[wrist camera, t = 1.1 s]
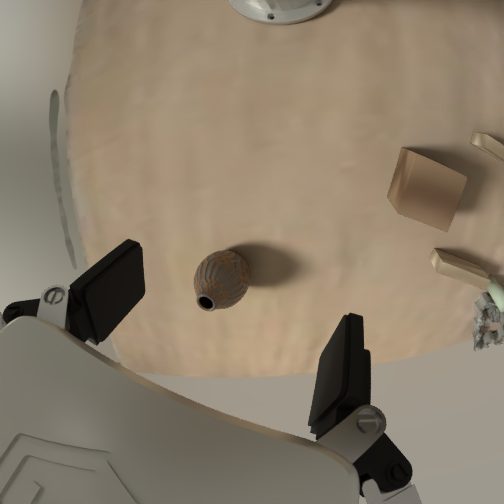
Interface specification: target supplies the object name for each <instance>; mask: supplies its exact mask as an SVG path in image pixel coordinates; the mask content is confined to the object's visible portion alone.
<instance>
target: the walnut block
mask: <svg viewBox="0 0 504 504" xmlns="http://www.w3.org/2000/svg"><path fill="white" fill-rule="evenodd" d="M466 181H467V177H466V176H464V175H462V174H460V173H458V172H456V171H454V170H453V169H451V168H449V167H447V166H444V165H442V164H440V163H438V162H436V161H434V160H431V159H429V158H427V157H424V156H422V155H420V154H417V153H415V152H412V151H410V150H407V149H405V148H402V147H401V151H400V155H399V159H398V162H397V166H396V169H395V173H394V176H393V179H392V182H391V186H390V189H389V192H388V195H387V197H388V199H389V200H390V202H391V203H392V205H393V207H394V208H395V210H396V211H397V213H398V214H400V215H403V216H406V217H409V218H411V219H414V220H417V221H419V222H422V223H425V224H427V225H430V226H432V227H435V228H437V229H440V230H442V231H445V232H448V230H449V227H450V225H451V222H452V220H453V217H454V215H455V212H456V210H457V207H458V204H459V201H460V199H461V196H462V193H463V190H464V187H465V184H466Z"/></svg>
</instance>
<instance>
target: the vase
mask: <svg viewBox="0 0 504 504" xmlns="http://www.w3.org/2000/svg"><path fill="white" fill-rule="evenodd" d="M249 283H250V271H249V267H248V265H247V263H246V262H245V260H244V259H243V258H242V257H241V256H240V255H238V254H236V253H234V252H231V251H226V250H224V251H217V252H215V253H212V254H210V255H209V256H207V257H206V258H205V259H204V260H203V261H202V262H201V263H200V265H199V266H198V268H197V270H196V273H195V277H194V288H195V292H196V295H197V304H198V305H199V307H200V308H202V309H203V310H205V311H213V310H215V309H225V308H229V307H231V306H233V305H235V304H236V303H237V302H239V301H240V300H241V299H242V297H243V296H244V295H245V293H246V291H247V289H248V286H249Z"/></svg>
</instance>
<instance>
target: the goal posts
mask: <svg viewBox="0 0 504 504" xmlns="http://www.w3.org/2000/svg"><path fill="white" fill-rule="evenodd" d="M488 277H489V278H490V280H491V281H490V283H489V285H488V287H487V288H486V289H487V290H488V292H489V293H490V295H491V297H492V298H493V300H494V302H495V303H496V305H497V307H498V308H499V310H500V312H504V291H503V289H502V288H501V286H500V285H499V283H498V282H497V281H496V279H495V278H494V276H493V275H489V276H488Z"/></svg>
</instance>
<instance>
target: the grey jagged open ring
mask: <svg viewBox="0 0 504 504" xmlns="http://www.w3.org/2000/svg"><path fill="white" fill-rule="evenodd" d="M501 288H502V289H503V291H504V287H503V286H501ZM474 308H475V310H476V312H477V314H478V316H477V317H475V318H474V319H473V324H474V326H475V328H476V331H475V332H474V333H472V339H473V342H474V351H476V350H481V349H482V348H484V347H486V348H488V347H489V346H488V344H490V343H492V342H494V344H496V345H500V344H502V343H504V312H502V313H501V314H500V310H499V308H498V307H497V305H496V303H495V302H494V300H493V298H492V297H491V296H488V295H487V293H486V292H485V293H482V294H481V296H480V298H479V299H478V300H477V301H476V302H475V303H474ZM484 309H485V311H486V313H487V315H488V318H487V319H486V320H485V318H484V317H483V312H482V311H483V310H484ZM499 321H500V322H501V326H500V327H499V328H498V329H497V331H495V332H491V331H487V332H485V333H484V334H482V332H481V330H480V327H481V326H484V327H489V326H490V325H491V324H492V323H493V322H499ZM483 323H484V324H483Z"/></svg>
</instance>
